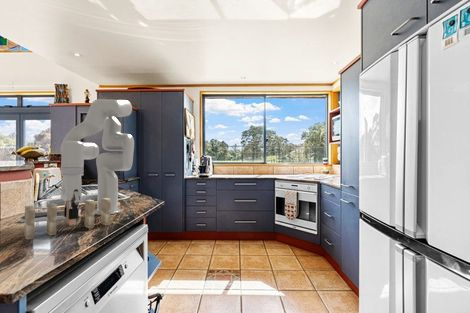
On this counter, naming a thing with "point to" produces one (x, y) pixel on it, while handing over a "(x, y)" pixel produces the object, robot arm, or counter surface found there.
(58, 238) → the counter surface
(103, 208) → the birch domino
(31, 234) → the birch domino
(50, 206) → the birch domino
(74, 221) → the terracotta domino
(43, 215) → the picture frame
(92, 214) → the birch domino
